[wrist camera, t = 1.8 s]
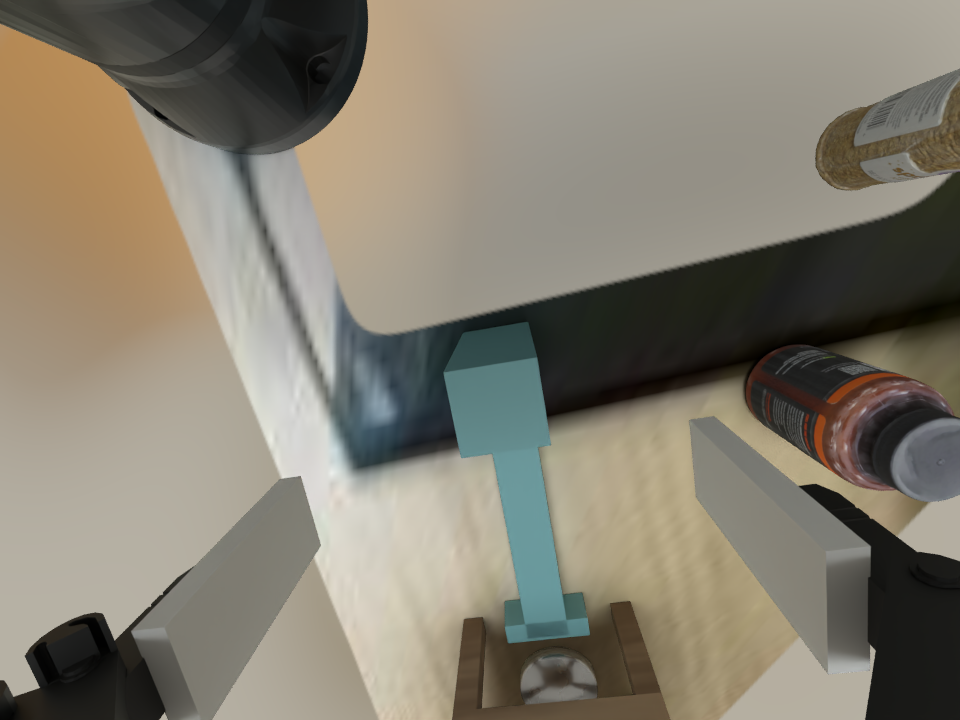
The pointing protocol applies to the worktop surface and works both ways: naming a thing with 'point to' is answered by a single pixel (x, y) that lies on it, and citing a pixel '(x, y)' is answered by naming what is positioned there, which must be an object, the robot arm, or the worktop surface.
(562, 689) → the silver flat disc
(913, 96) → the sprinkles bottle
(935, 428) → the supplement bottle
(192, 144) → the worktop surface
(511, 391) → the teal stepped block
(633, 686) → the cabinet
